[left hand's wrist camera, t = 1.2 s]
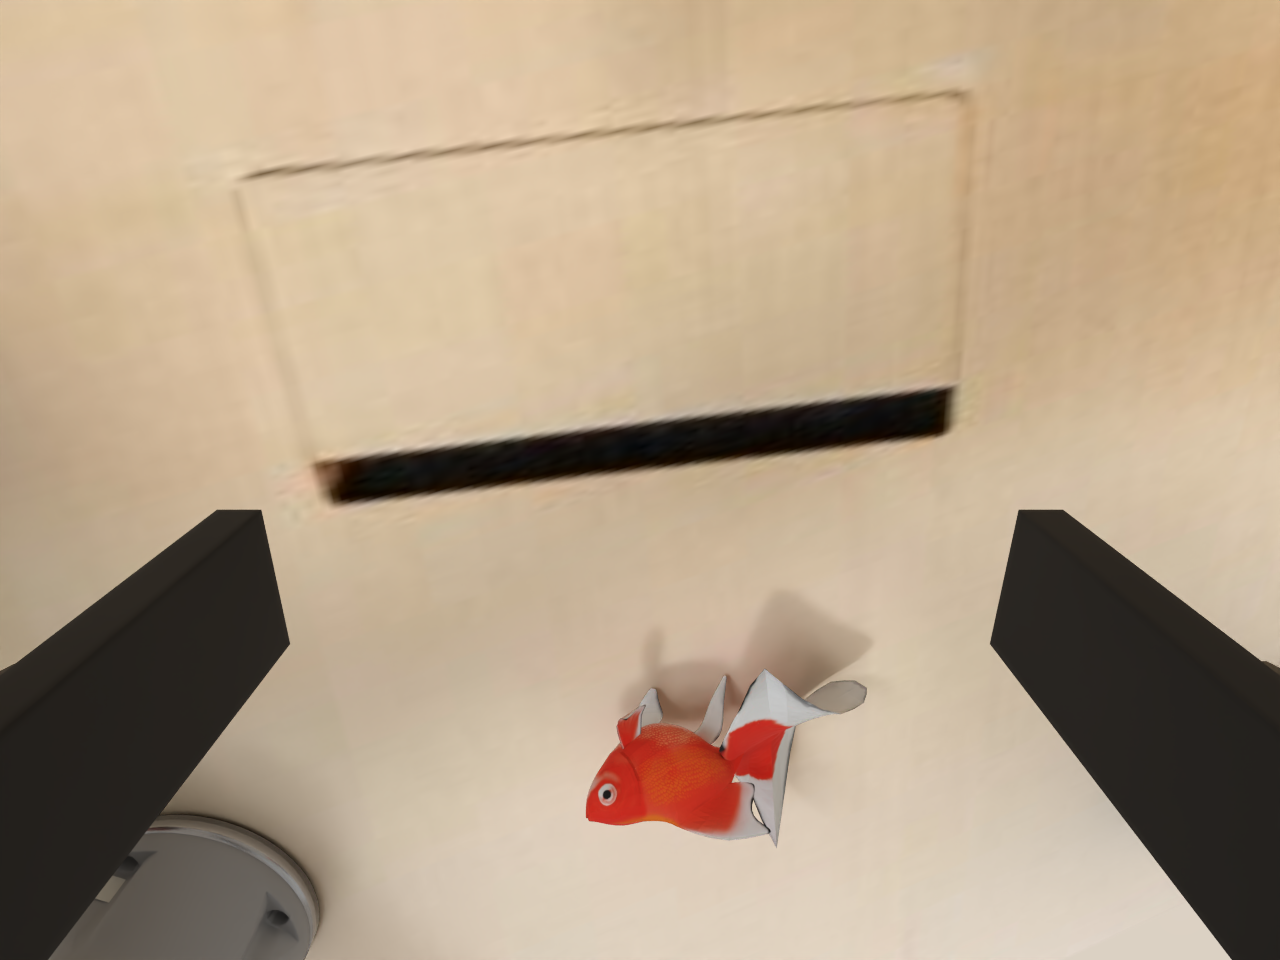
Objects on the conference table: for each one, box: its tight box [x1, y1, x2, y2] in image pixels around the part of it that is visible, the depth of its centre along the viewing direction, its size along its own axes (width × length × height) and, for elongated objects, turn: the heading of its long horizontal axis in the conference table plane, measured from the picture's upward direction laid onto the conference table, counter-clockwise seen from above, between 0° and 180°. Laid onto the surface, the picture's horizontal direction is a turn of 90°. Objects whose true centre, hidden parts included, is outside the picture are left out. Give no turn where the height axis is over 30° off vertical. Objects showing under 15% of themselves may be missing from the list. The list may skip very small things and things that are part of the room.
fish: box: [586, 669, 867, 848], centre depth 38 cm, size 11×16×10 cm
